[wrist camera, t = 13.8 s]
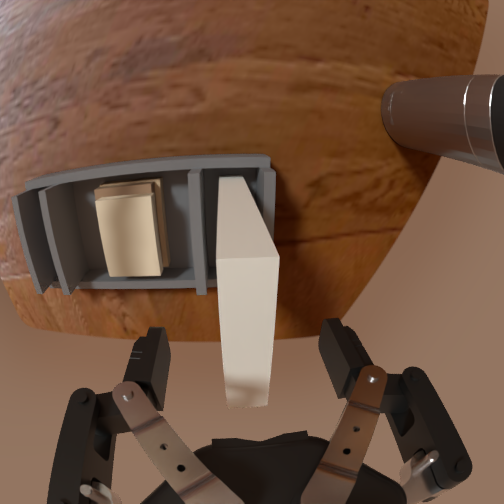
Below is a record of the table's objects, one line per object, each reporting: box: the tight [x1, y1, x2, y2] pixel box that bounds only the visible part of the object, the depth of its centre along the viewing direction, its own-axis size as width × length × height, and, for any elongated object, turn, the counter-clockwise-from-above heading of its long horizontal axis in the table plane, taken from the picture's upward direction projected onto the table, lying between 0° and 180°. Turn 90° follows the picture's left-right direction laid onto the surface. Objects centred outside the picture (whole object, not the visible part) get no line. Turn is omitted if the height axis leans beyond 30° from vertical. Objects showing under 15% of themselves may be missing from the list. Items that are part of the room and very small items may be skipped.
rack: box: [11, 154, 276, 295], centre depth 27 cm, size 28×14×7 cm, turn 90°
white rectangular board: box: [216, 175, 280, 408], centre depth 22 cm, size 2×10×20 cm, turn 179°
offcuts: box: [94, 177, 171, 277], centre depth 27 cm, size 7×10×4 cm
